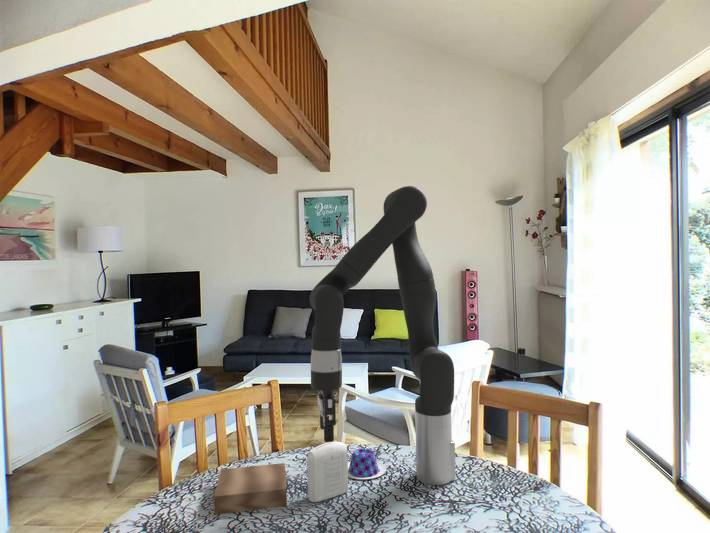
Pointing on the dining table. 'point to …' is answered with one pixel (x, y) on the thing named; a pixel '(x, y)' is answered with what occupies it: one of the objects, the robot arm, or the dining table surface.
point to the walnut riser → (250, 488)
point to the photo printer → (327, 471)
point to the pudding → (364, 465)
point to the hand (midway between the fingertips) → (326, 434)
